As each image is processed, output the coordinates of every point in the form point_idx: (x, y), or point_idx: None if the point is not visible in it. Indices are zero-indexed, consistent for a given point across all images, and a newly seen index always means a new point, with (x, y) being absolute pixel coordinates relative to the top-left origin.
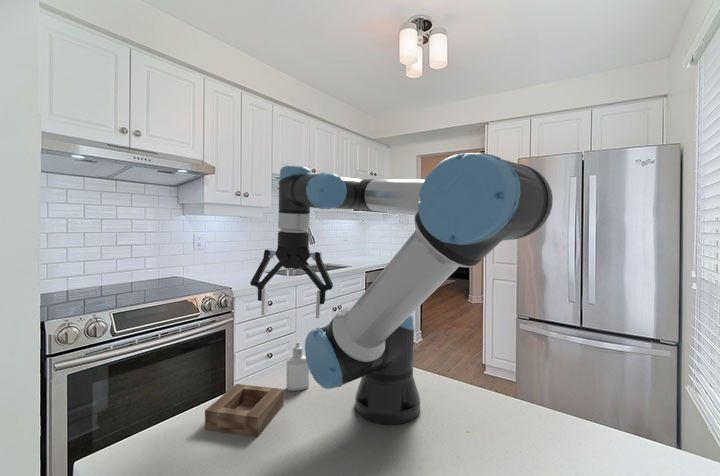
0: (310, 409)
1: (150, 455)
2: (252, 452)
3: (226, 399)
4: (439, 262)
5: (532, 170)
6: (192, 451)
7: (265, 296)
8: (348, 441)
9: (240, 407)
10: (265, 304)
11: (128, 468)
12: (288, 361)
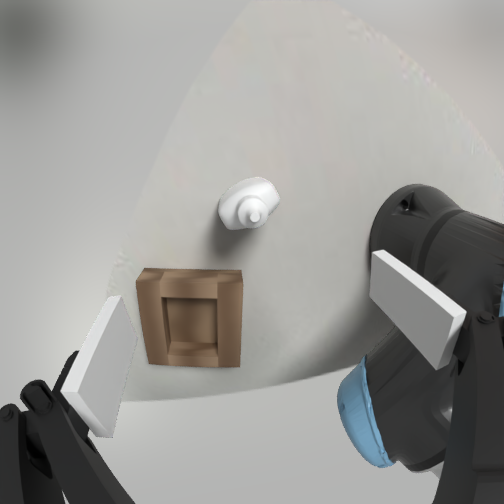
0: (295, 271)
1: (135, 387)
2: (245, 371)
3: (157, 334)
4: None
5: None
6: (173, 379)
7: (113, 390)
8: (360, 328)
9: (173, 305)
10: (122, 356)
11: (133, 400)
12: (229, 228)
